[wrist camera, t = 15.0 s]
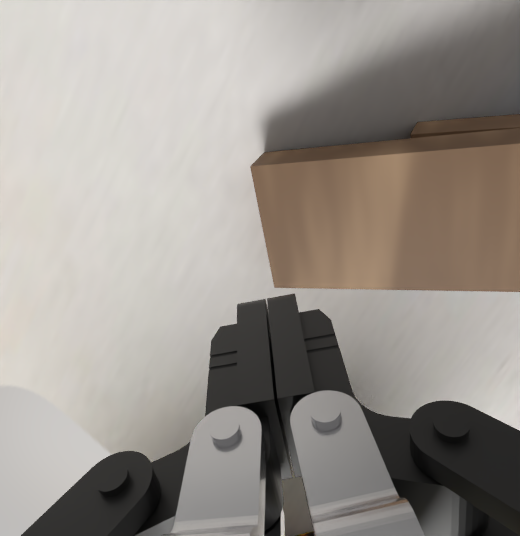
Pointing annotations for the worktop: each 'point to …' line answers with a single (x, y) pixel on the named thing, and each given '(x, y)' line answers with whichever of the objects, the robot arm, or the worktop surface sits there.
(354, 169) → the domino
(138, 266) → the worktop surface
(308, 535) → the food package
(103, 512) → the robot arm
